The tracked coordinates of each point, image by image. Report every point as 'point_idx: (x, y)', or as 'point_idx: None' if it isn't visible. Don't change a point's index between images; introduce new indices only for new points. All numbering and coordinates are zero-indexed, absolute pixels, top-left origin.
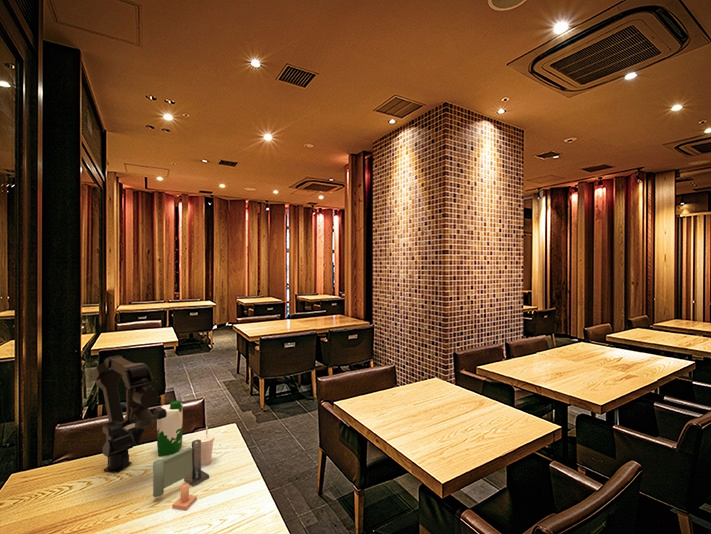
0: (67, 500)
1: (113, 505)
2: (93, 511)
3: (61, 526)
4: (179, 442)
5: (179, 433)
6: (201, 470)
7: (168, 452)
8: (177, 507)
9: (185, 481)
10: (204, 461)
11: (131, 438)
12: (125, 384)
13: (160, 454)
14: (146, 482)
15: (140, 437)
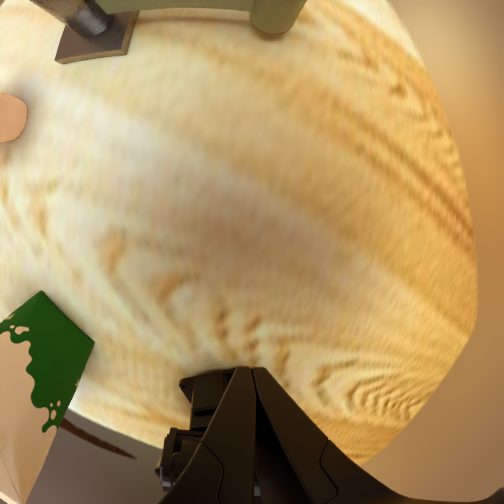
0: (400, 333)
1: (377, 163)
2: (417, 199)
3: (469, 216)
4: (10, 315)
5: None
6: (59, 47)
7: (59, 320)
8: None
9: (128, 42)
10: (15, 99)
11: (183, 466)
12: None
13: (84, 340)
14: (216, 193)
15: (218, 415)
